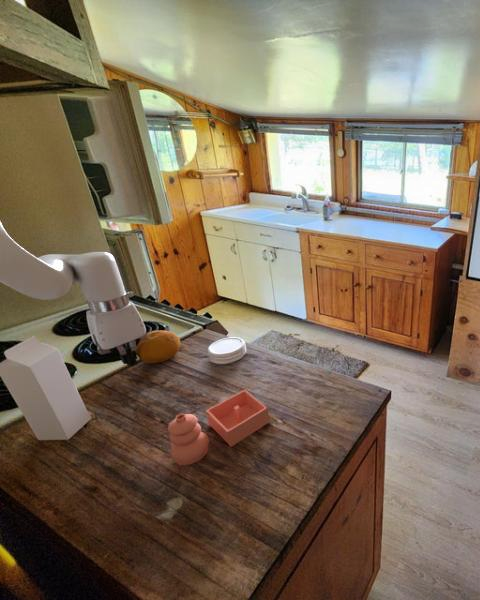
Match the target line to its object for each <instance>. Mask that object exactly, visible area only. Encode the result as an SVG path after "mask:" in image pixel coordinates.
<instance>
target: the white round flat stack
mask: <svg viewBox="0 0 480 600" xmlns="http://www.w3.org/2000/svg"><path fill="white" fill-rule="evenodd" d="M240 341H241V342H240ZM247 351H248V350H247V346H246V342H245V340H244V339H242V338H240V337H237V336H234V337H233V336H232V337H231V336H230V337H224V338H221V339H218V340H215V341H214V342H212V343H211V344H210V345H209V346H208V348H207V354H208V359H209V361H210V362H211V363H213V364H216V365H228V364H234V363H235V362H237V361H240V360H241V359H242V358H244V357H245V356H246V354H247Z"/></svg>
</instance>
